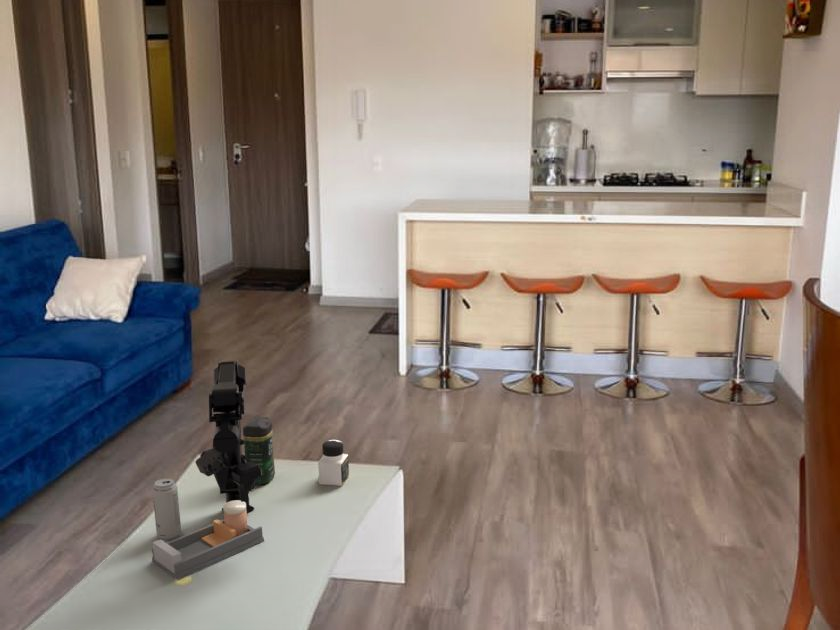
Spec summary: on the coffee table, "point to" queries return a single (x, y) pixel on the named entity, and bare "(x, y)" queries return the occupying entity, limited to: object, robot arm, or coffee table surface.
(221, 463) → the robot arm
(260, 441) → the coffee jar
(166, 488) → the energy drink can
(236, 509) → the jar
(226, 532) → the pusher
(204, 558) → the lane
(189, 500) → the coffee table surface
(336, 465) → the medicine bottle
